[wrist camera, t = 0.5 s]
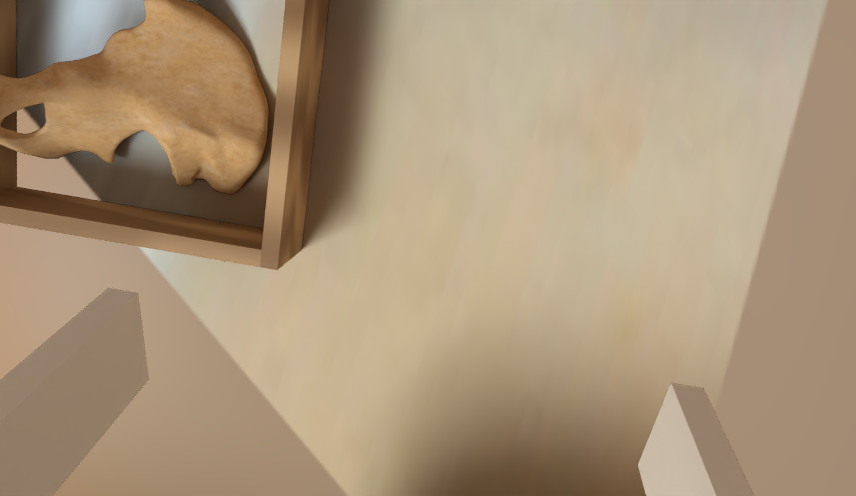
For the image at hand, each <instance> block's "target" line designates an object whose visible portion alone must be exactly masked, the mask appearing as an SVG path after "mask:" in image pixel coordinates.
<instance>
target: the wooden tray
mask: <svg viewBox="0 0 856 496" xmlns="http://www.w3.org/2000/svg"><path fill="white" fill-rule="evenodd" d="M329 1H330V0H286V2H285V12H284V23H283V33H282V43H281V54H280V64H279V75H278V85H277V95H276V106H275V116H274V126H273V137H272V147H271V157H270V168H269V178H268V188H267V199H266V209H265V219H264V229H263V228H257V227H251V226H245V225H239V224H233V223H227V222H221V221H215V220H210V219H204V218H198V217H192V216H186V215H180V214H174V213H168V212H162V211H156V210H151V209H145V208H139V207H133V206H127V205H121V204H115V203H109V202H103V201H97V200H91V199H85V198H79V197H73V196H68V195H62V194H56V193H50V192H44V191H38V190H32V189H26V188H21V187H17V151H15V150H13V149H10V148H8V147H6V146H3V145H1V144H0V223H5V224H11V225H18V226H24V227H29V228H35V229H40V230H46V231H53V232H58V233H64V234H70V235H76V236H82V237H87V238H94V239H99V240H105V241H111V242H117V243H122V244H128V245H134V246H140V247H146V248H152V249H157V250H163V251H169V252H175V253H181V254H187V255H193V256H198V257H204V258H210V259H216V260H222V261H228V262H234V263H239V264H245V265H251V266H257V267H263V268H269V269H274V270H278V269H279V268H280V267H282V266H283V265H284V264H285V263H286V262H288V261H289V260H290V259H291V258H293V257H294V256H295V255H296V254H297V253H299V252H300V251H301V249H302V240H303V231H304V222H305V214H306V205H307V196H308V187H309V178H310V169H311V160H312V151H313V143H314V134H315V125H316V116H317V107H318V98H319V89H320V80H321V72H322V63H323V54H324V45H325V36H326V27H327V18H328V10H329ZM0 75H3V76H6V77H11V78H17V68H16V0H0ZM16 118H17V111H15V112H13V113H11V114H10V115H8V116H6V117H5V118H4V119H3V121H2V122H1V127H3V128H5V129H8V130H12V131H15V132H17V119H16Z"/></svg>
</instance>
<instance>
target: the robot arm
mask: <svg viewBox="0 0 856 496" xmlns="http://www.w3.org/2000/svg"><path fill="white" fill-rule="evenodd" d="M148 380H149V375H148V368H147V360H146V352H145V344H144V336H143V328H142V320H141V312H140V304H139V296H138V293H135V292H129V291H123V290H117V289H111V288H108V289H106V290H105V291H104V292H103V293H102V294H101V295H99V296H98V297H97V298H96V299H95V300H94V301H92V302H91V303H90V304H89V305H88V306H86V307H85V308H84V309H83V310H82V311H81V312H80V313H78V314H77V315H76V316H75V317H74V318H72V319H71V320H70V321H69V322H68V323H66V325H64V326H63V327H62V328H61V329H60V330H58V331H57V332H56V333H55V334H54V335H52V336H51V337H50V338H49V339H48V340H47V341H45V342H44V343H43V344H42V345H41V346H40V347H38V348H37V349H36V350H35V351H34V352H33V353H31V354H30V355H29V356H28V357H27V358H25V359H24V360H23V361H22V362H21V363H19V364H18V365H17V366H16V367H15V368H14V369H13V370H11V371H10V372H9V373H8V374H7V375H5V376H4V377H3V378H2V379H1V380H0V496H53V495H54V494H55V493H56V491H57V490H58V489H59V488H60V487H61V485H62V484H63V483H64V482H65V481H66V479H67V478H68V477H69V476H70V475H71V473H72V472H73V471H74V470H75V468H76V467H77V466H78V465H79V464H80V462H81V461H82V460H83V459H84V457H85V456H86V455H87V454H88V453H89V452H90V450H91V449H92V448H93V447H94V446H95V444H96V443H97V442H98V441H99V439H100V438H101V437H102V436H103V435H104V433H105V432H106V431H107V430H108V428H109V427H110V426H111V425H112V424H113V423H114V421H115V420H116V419H117V418H118V416H119V415H120V414H121V413H122V412H123V410H124V409H125V408H126V407H127V406H128V404H129V403H130V402H131V401H132V400H133V398H134V397H135V396H136V395H137V393H138V392H139V391H140V390H141V388H142V387H143V386H144V385H145V384H146V382H147V381H148ZM638 468H639V471H640V475H641V479H642V482H643V486H644V490H645V494H646V496H754V494H753V492H752V490H751V488H750V486H749V484H748V482H747V480H746V477H745V475H744V473H743V471H742V469H741V467H740V465H739V463H738V460H737V458H736V456H735V454H734V452H733V450H732V448H731V446H730V444H729V441H728V439H727V437H726V435H725V433H724V431H723V429H722V426H721V424H720V422H719V420H718V418H717V416H716V414H715V411H714V409H713V407H712V405H711V403H710V401H709V399H708V396H707V394H706V392H705V390H704V388H699V387H693V386H687V385H681V384H675V383H671V385H670V387H669V390H668V392H667V394H666V397H665V399H664V402H663V404H662V407H661V409H660V412H659V414H658V417H657V419H656V421H655V424H654V426H653V429H652V431H651V434H650V436H649V439H648V441H647V444H646V446H645V449H644V451H643V453H642V456H641V458H640V461H639V463H638Z"/></svg>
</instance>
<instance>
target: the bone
mask: <svg viewBox="0 0 856 496" xmlns="http://www.w3.org/2000/svg"><path fill="white" fill-rule="evenodd" d="M144 6H145V11H146V18H145V21H144V22H143V23H141V24H140V25H139V26H137V27H135V28H131V29H124V30H119V31H118V32H116V33H114V34H113V35H112V36H111V37H110V39H109V40H108V41H107V43H106V45H105V46H104V49H103V51H101V52H100V53H98V54H95V55H92V56H89V57H86V58H83V59H79V60H74V61H66V62H58V63H54V64H52V65H50V66H48V67H47V68H46V69H44V70H42V71H41V72H39V73H37V74H34V75H31V76H28V77H24V78H11V77H6V76H3V75H0V144H1V145H3V146H6V147H8V148H10V149H13V150H15V151H18V152H21V153H24V154H28V155H32V156H37V157H42V158H46V159H49V158H50V159H51V158H52V159H53V158H55V159H56V158H60V157H63V156H65V155H67V154H70V153H73V152H77V151H89V152H92V153H95V154H96V155H98V156H99V157H100V158H101V159H102V160H103V161H105V162H107V163H113V162H114V152H115V150H116V148H117V146H118V145H119V144H120V143H121V142H122V141H123V140H124V139H126V138H127V137H129V136H130V135H132V134H134V133H136V132H138V131H141V130H145V131H147V132H149V133H150V134H151V135H152V136H154V137H155V138H156V139H157V140H158V142H159V143H160V144H161V145H162V147H163V149H164V151H165V152H166V154H167V156H168V158H169V161H170V164H171V169H172V175H173V176H174V177H175V179H176V183H177V185H178V186H182V185H192V184H193V181H194V180H195V179H205V180H207V181H208V182H209V184H210V186H211V187H212V188H213V189H214V190H216V191H219V192H225V193H229V194H232V193H234V192H236V191H238V190H239V189H240V188H241V187H242V186H243V185H244V183H245V182H246V180H247V179H248V178H249V177H250V176H251V175H252V173H253V172H254V171H255V170H256V168H257V167H258V165H259V163H260V161H261V158H262V155H263V152H264V148H265V144H266V139H267V129H268V114H269V113H268V103H267V99H266V96H265V93H264V91H263V88H262V86H261V83H260V81H259V78H258V75H257V72H256V69H255V66H254V63H253V60H252V58H251V56H250V54H249V52H248V50H247V48H246V47H245V45H244V44H243V42H242V41H241V40H240V39H239V38H238V37H237V35H236V34H235V33H234V32H233V31H232V30H231V29H230V28H228V27H227V26H226V25H225V24H224V23H223V22H222V21H220V20H219V19H218V18H217V17H215V16H214V15H213V14H211V13H210V12H208V11H207V10H206V9H204V8H203V7H201V6H199V5H197V4H195V3H192V2H190V1H187V0H145V1H144ZM40 103H44V107H45V117H46V123H45V125H44V126H43V127H41V128H40V129H39V130H37V131H35V132H32V133H29V134H22V133H17V132H15V131H12V130H8V129H5V128H3V127H1V122H2V121H3V119H4V118H5V117H6V116H8V115H10V114H11V113H13V112H15V111H17V110H19V109H22V108H25V107H28V106H32V105H36V104H40Z"/></svg>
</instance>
